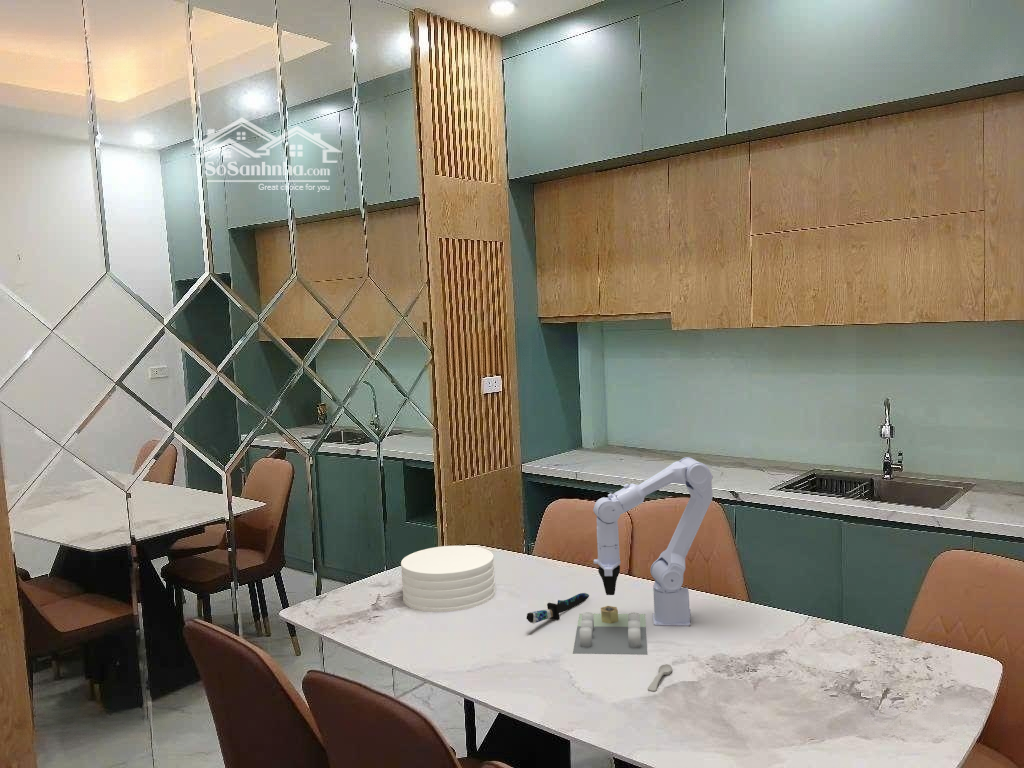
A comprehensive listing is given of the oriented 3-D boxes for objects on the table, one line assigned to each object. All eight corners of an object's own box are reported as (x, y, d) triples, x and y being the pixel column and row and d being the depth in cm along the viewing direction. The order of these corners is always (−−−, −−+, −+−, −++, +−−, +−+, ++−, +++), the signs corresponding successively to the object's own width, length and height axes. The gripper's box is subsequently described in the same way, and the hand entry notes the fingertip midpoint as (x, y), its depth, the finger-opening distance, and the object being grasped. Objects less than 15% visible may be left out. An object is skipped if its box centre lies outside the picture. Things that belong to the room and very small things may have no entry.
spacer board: (645, 614, 211) (644, 599, 211) (647, 655, 185) (646, 638, 185) (579, 614, 214) (578, 599, 213) (572, 654, 188) (572, 637, 188)
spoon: (674, 670, 177) (674, 662, 177) (658, 697, 167) (657, 688, 166) (662, 668, 178) (661, 660, 178) (645, 694, 168) (644, 686, 168)
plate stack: (444, 575, 254) (443, 541, 253) (513, 588, 238) (511, 552, 237) (383, 602, 232) (381, 564, 231) (454, 619, 215) (452, 579, 214)
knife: (530, 630, 200) (530, 613, 200) (520, 628, 202) (521, 610, 202) (596, 606, 224) (597, 591, 224) (587, 604, 226) (588, 589, 226)
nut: (616, 616, 210) (615, 605, 210) (618, 623, 205) (618, 611, 205) (600, 616, 210) (600, 605, 210) (602, 623, 205) (602, 612, 205)
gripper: (594, 536, 210) (596, 584, 211) (591, 552, 196) (593, 604, 197) (620, 536, 209) (622, 584, 210) (619, 551, 195) (621, 604, 196)
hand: (610, 594), depth 204 cm, fingers closed
